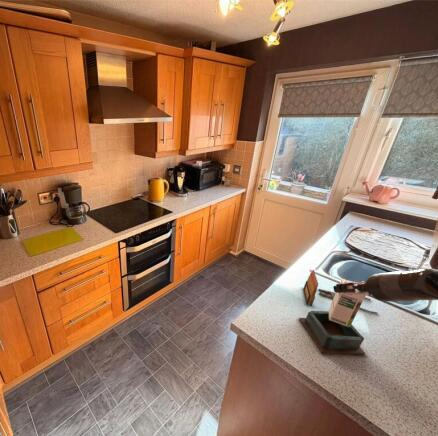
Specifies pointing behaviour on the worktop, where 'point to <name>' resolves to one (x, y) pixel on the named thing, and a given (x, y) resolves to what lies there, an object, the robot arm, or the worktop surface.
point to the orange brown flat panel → (310, 288)
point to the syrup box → (345, 306)
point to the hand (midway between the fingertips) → (347, 289)
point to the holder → (332, 334)
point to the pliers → (334, 295)
